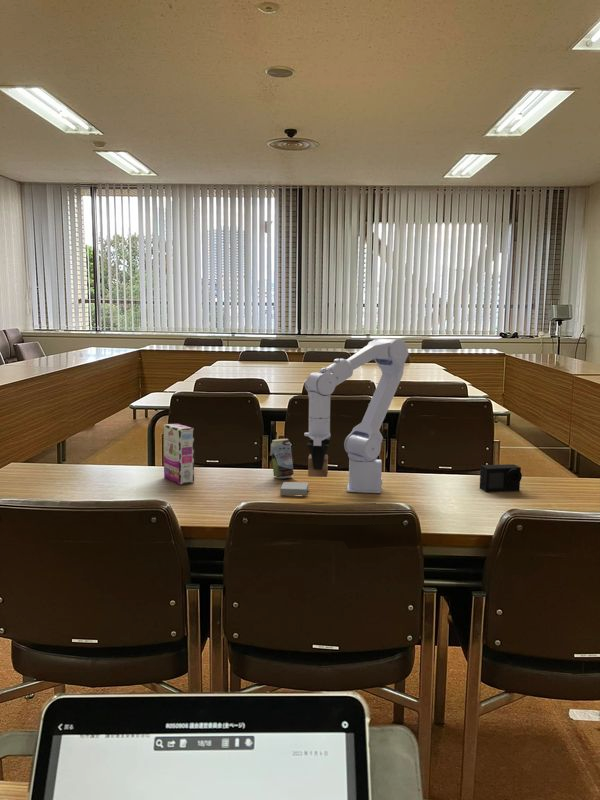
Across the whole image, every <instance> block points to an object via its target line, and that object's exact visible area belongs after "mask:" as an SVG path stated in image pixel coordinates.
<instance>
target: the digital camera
mask: <svg viewBox="0 0 600 800" xmlns="http://www.w3.org/2000/svg"><path fill="white" fill-rule="evenodd" d="M521 470H522V468H521V466H518V465H516V464H514V463H513V464H512V463H510V464H485V465H484V464H483V465H481V464H480V473H479V489H480V490H482V491H483V492H485V493H500V492H502V493H503V492H520V490H521V489H520V488H521V481H522V477H523V476H522V475H523V474H522V471H521Z"/></svg>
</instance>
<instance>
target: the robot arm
mask: <svg viewBox="0 0 600 800" xmlns="http://www.w3.org/2000/svg"><path fill="white" fill-rule="evenodd" d="M409 354H410V352H409V350H408V346H407V343H406V342H405V340H403V339H401V338H382V337H375V338H374V339H373V340H370V341H368V343H367V345H365V346H364V347H362V348H361V349H360V350H358V351H357V352H355V353H354V354H353V355H351V356H350V357H348V358H347V359H345V358H335V359H334V360H333V363H331V364H329V365H327V366H326V367H321V368H320V370H319V372H317V371H316V372H311V373H310V374H308V376H307V378H306V380H305V382H304V388H305V390H306V391H307V398H308V432H304V434H303V435H304V437H308V438H309V442H307V448H308V450H309V453H310V454H311V456H312V461H313V467H314V469H315V470H322V467H323V462H324V457H325V455H326V453H327V451H328V449H329V447H330V445H329V443H330V442H331V435H332V434H331V395H332V394H333V392H334V391H335V389H336V387H338V385H340V384H341V383H343V382H345V381H346V380H348V379H350V378H351V377H352V376H353V372H354V371H355V370H356V369H358V368H360V367H362V366H364V365H365V364H368V363H369V362H370V361H373V360H374V362H375V363H376V365H377V366H378V367H379V369H380V371H381V373H382V374H381V376H380V379H379V381H378V383H377V385H376V388H375V391H374V392H373V395H372V397H371V399H370V402H369V404H368V406H367V409H366V411H365V414H364V416H363V418H362V420H361V422H359V424H357V425H356V426H354V427H353V428H352V431H350V433H349V434H348V435H347V436H346V437H345V439H344V443H343V446H344V447H343V448H344V450H345V452H346V453H347V457H348V459H349V461H348V464H349V465H348V483H347V489H346V492H347V493H370V494H381V493H382V486H383V478H382V475H383V474H382V470H383V469H382V467H383V463H382V462H383V461H382V459H378V456H380V453H381V449H382V442H383V440H384V437H383V435H382V433H381V431H380V429H381V427H382V425H383V422H384V420H385V419H386V415H387V413H388V411H389V408H390V406H391V403H392V401H393V400H394V399H393V398H394V396H395V394H396V392H397V389H398V387H399V385H400V383H401V380H402V378H403V376H404V368H405V363H406V361H407V359H408V356H409Z"/></svg>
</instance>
